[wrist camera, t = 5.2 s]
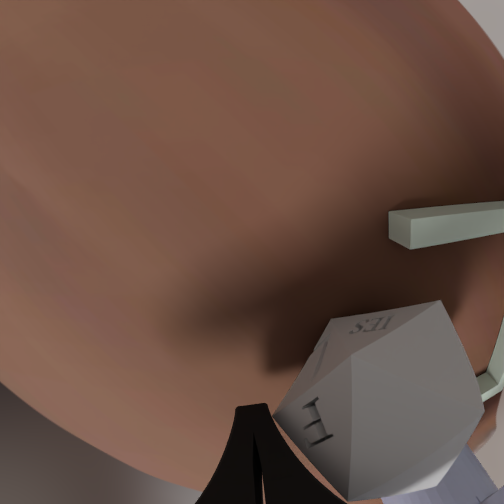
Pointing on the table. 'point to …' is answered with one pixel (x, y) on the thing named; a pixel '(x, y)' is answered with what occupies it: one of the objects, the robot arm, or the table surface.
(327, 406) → the die
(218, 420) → the table surface
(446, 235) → the bay
